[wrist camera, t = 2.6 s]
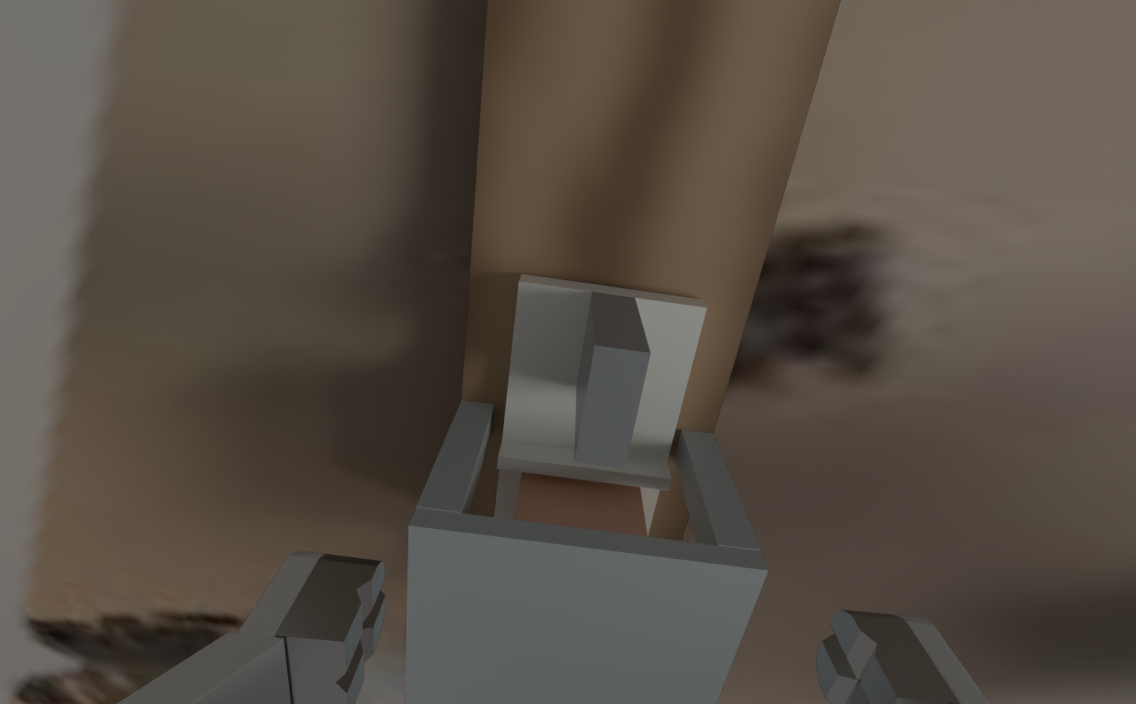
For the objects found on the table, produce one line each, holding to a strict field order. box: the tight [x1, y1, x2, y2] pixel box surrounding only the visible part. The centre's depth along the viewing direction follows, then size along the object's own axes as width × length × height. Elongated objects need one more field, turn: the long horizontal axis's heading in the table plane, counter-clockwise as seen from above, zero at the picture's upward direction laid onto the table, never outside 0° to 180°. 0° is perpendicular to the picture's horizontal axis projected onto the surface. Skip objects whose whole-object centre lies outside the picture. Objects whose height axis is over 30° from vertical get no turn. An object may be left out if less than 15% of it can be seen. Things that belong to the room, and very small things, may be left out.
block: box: [514, 472, 648, 537], centre depth 22 cm, size 5×5×5 cm
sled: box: [494, 274, 707, 535], centre depth 22 cm, size 7×21×6 cm, turn 172°
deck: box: [462, 0, 841, 541], centre depth 26 cm, size 11×39×3 cm, turn 172°
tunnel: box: [405, 400, 768, 704], centre depth 21 cm, size 11×9×8 cm
